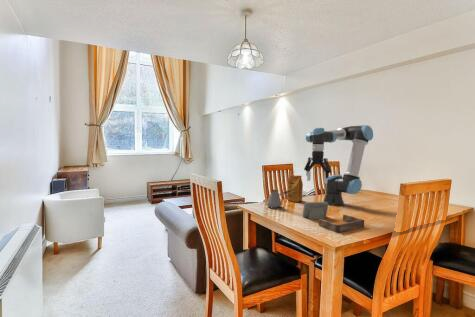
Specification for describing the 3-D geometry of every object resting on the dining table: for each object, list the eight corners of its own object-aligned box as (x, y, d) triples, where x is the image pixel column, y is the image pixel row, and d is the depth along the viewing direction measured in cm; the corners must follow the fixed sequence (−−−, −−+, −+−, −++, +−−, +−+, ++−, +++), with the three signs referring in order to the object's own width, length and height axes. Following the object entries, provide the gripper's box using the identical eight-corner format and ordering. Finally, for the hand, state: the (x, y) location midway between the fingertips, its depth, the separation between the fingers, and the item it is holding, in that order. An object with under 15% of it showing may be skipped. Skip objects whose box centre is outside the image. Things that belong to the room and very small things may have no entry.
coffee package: (291, 198, 225) (292, 173, 223) (304, 201, 216) (304, 175, 214) (284, 200, 218) (285, 174, 216) (297, 203, 209) (297, 176, 207)
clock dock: (318, 225, 150) (318, 219, 150) (344, 220, 161) (344, 214, 160) (337, 233, 138) (337, 225, 138) (364, 226, 149) (364, 220, 149)
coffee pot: (263, 207, 195) (263, 187, 194) (272, 204, 203) (272, 185, 202) (287, 212, 180) (287, 191, 179) (296, 209, 188) (296, 189, 187)
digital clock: (326, 216, 171) (326, 200, 170) (329, 220, 162) (330, 203, 162) (301, 215, 173) (301, 199, 172) (303, 219, 164) (303, 202, 163)
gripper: (299, 150, 182) (298, 180, 183) (331, 151, 162) (330, 184, 163) (306, 150, 187) (305, 179, 188) (337, 151, 167) (336, 183, 168)
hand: (316, 181), depth 176 cm, fingers open, 13 cm apart
